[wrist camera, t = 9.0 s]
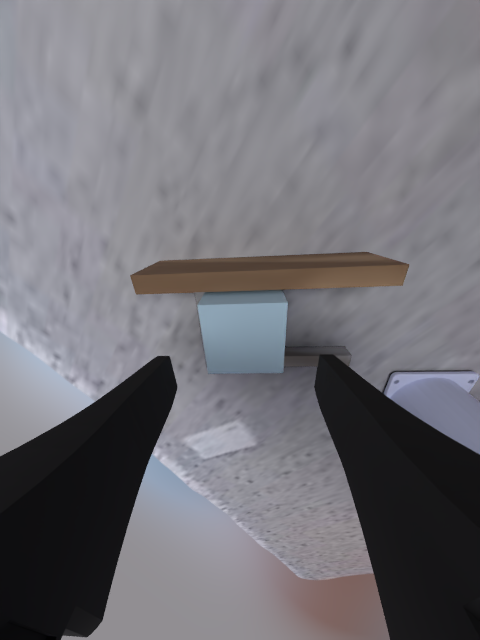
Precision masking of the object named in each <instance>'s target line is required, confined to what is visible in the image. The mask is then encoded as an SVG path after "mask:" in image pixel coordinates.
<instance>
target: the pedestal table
mask: <svg viewBox="0 0 480 640" xmlns="http://www.w3.org/2000/svg"><path fill="white" fill-rule="evenodd" d="M408 268H409V264H406V263H402V262H399V261H396V260H392V259H389V258H386V257H382V256H379V255H375V254H372V253H369V252H355V253H332V254H309V255H285V256H262V257H239V258H216V259H192V260H169V261H159V262H157V263H155V264H153V265H151V266H149V267H147V268H145V269H142V270H140V271H138V272H136V273H134V274H132V275H130V276H131V280H132V283H133V286H134V289H135V293H136V294H162V293H193V292H195V299H196V305H198V303H199V301H200V300H201V298H202V296H203V295H204V293H205V292H223V291H253V290H284V289H314V288H344V287H374V286H403V283H404V280H405V277H406V274H407V271H408ZM197 311H198V307H197ZM198 317H199V313H198ZM199 323H200V319H199ZM200 330H201V326H200ZM201 336H202V332H201ZM202 342H203V338H202ZM203 348H204V345H203ZM320 354H333V355H335V356H336V357H337V358H339V359H340V360H341V361H342V362H344V363H345V364H346V365H347V366H349V364H350V360H351V356H352V355H351V354H350V353H349V351H348V350H347V349H346V347H345V346H342V347H285V352H284V367H310V366H318V361H319V355H320ZM204 355H205V351H204ZM205 361H206V357H205ZM206 367H207V363H206Z"/></svg>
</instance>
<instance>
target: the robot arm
mask: <svg viewBox="0 0 480 640" xmlns="http://www.w3.org/2000/svg"><path fill="white" fill-rule="evenodd" d="M478 378H479V374H477V373H476V372H473V371H461V372H395V373H393V374H391V376H390V379H389V381H388V384H387V386H386V389H385V391H384V394H383V393H382V392H380V391H379V390H378V389H376V388H375V387H374V386H372V385H371V384H370V383H368V382H367V381H366V380H365V379H363V378H362V377H361V376H360V375H358V374H357V373H356V372H355V371H353V370H352V369H351V368H350V367H348V366H347V365H346V364H345V363H344V362H342V361H341V360H340V359H339V358H337V357H336V356H335V355H333V354H320V355H319V361H318V367H317V374H316V380H315V386H314V388H315V392H316V395H317V399H318V403H319V406H320V409H321V412H322V415H323V417H324V420H325V422H326V425H327V427H328V430H329V432H330V435H331V437H332V440H333V442H334V445H335V447H336V449H337V452H338V454H339V457H340V459H341V462H342V465H343V468H344V471H345V474H346V477H347V480H348V483H349V487H350V490H351V493H352V497H353V500H354V503H355V507H356V510H357V514H358V517H359V521H360V524H361V528H362V531H363V535H364V538H365V542H366V546H367V549H368V553H369V557H370V561H371V564H372V568H373V572H374V575H375V579H376V583H377V587H378V592H379V596H380V600H381V604H382V607H383V612H384V616H385V620H386V624H387V628H388V632H389V636H390V640H480V402H479V401H478V400H477V399H476V398H474V397H473V396H472V395H471V394H469V392H470V390H471V389H472V387H473V386H474V384H475V383H476V381H477V380H478ZM176 391H177V383H176V379H175V375H174V371H173V368H172V364H171V360H170V356H157V357H156V358H154V359H153V360H151V361H150V362H149V363H147V364H146V365H145V366H143V367H142V368H141V369H139V370H138V371H137V372H135V373H134V374H133V375H132V376H130V377H129V378H128V379H126V380H125V381H124V382H122V383H121V384H120V385H118V386H117V387H115V388H114V389H113V390H111V391H110V392H108V393H107V394H106V395H104V396H103V397H101V398H100V399H98V400H97V401H96V402H94V403H93V404H91V405H90V406H88V407H87V408H85V409H84V410H82V411H81V412H79V413H77V414H76V415H74V416H72V417H71V418H69V419H67V420H66V421H64V422H63V423H61V424H59V425H58V426H56V427H54V428H52V429H50V430H49V431H47V432H45V433H43V434H41V435H40V436H38V437H36V438H34V439H33V440H31V441H29V442H27V443H25V444H23V445H21V446H20V447H18V448H16V449H14V450H12V451H10V452H8V453H6V454H4V455H2V456H0V640H61V638H62V636H63V635H66V636H77V637H78V636H79V637H88V636H89V635H90V634H91V633H92V632H93V631H94V630H95V629H96V628H97V627H98V626H99V624H100V623H101V622H102V620H103V616H104V612H105V608H106V604H107V600H108V596H109V592H110V588H111V584H112V580H113V577H114V573H115V569H116V565H117V562H118V558H119V554H120V551H121V548H122V544H123V540H124V537H125V533H126V530H127V526H128V523H129V520H130V517H131V513H132V510H133V507H134V504H135V500H136V497H137V494H138V491H139V487H140V485H141V482H142V479H143V476H144V473H145V470H146V467H147V464H148V461H149V459H150V457H151V454H152V452H153V450H154V447H155V445H156V443H157V440H158V438H159V436H160V433H161V431H162V429H163V426H164V424H165V422H166V419H167V417H168V415H169V412H170V410H171V408H172V405H173V401H174V398H175V394H176Z"/></svg>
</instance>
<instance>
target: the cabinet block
mask: <svg viewBox="0 0 480 640" xmlns="http://www.w3.org/2000/svg"><path fill="white" fill-rule="evenodd" d="M197 307H198V313H199V319H200V326H201V332H202V338H203V345H204V351H205V357H206V363H207V370H208V374H228V373H283V368H284V352H285V337H286V322H287V307H288V302H287V300H286V298H285V295H284V293H283V291H282V290H253V291H223V292H205V293H204V295H203V296H202V298H201V300H200V301H199V303H198V305H197Z"/></svg>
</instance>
